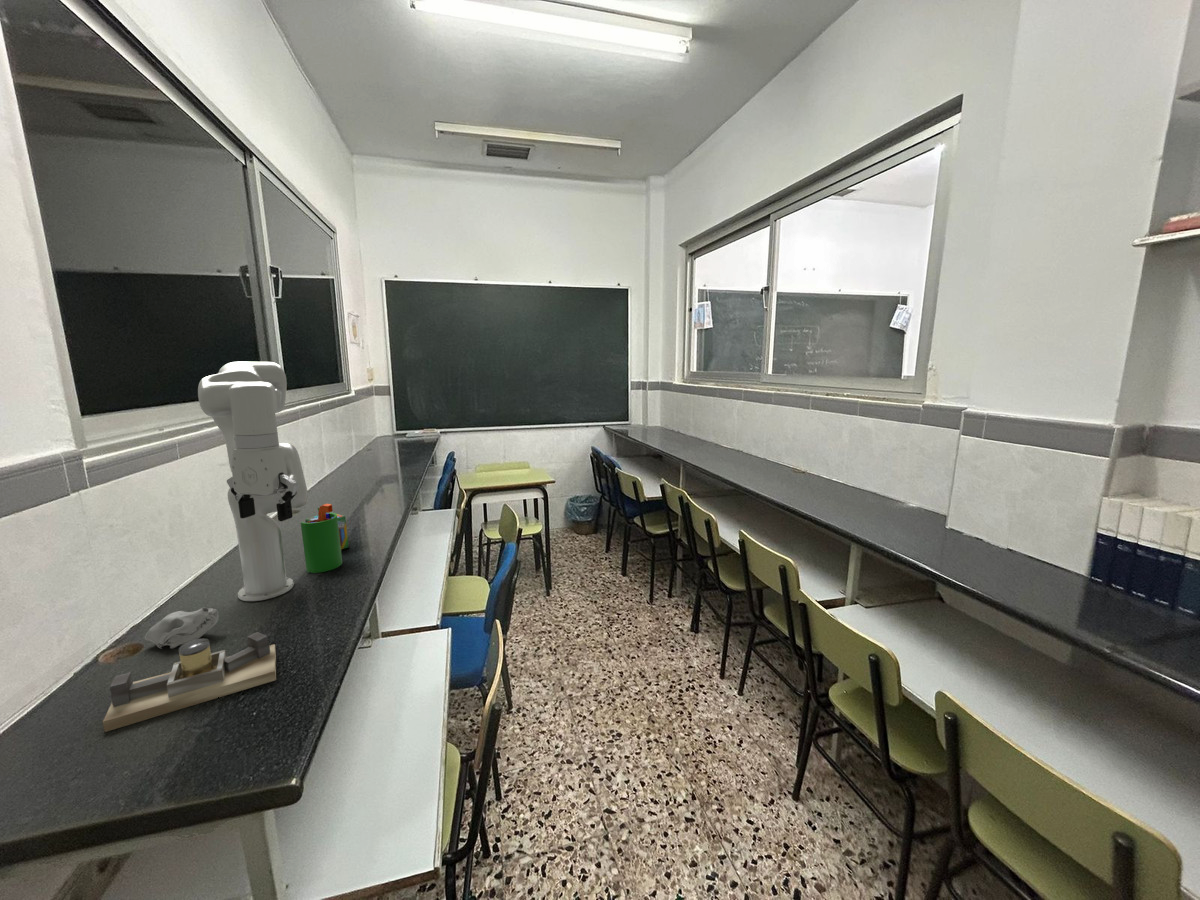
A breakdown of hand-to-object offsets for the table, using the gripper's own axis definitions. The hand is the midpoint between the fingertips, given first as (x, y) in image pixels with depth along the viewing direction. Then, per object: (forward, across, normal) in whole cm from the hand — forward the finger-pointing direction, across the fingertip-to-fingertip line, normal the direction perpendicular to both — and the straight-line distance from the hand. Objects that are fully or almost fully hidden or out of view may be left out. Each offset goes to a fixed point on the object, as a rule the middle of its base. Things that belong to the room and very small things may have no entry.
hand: (266, 518), depth 103 cm
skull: (+29, -19, -6) cm, 35 cm away
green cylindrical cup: (+28, -18, +35) cm, 49 cm away
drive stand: (+28, 0, -18) cm, 34 cm away
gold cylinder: (+26, 0, -18) cm, 32 cm away
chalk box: (+29, -28, +47) cm, 62 cm away
